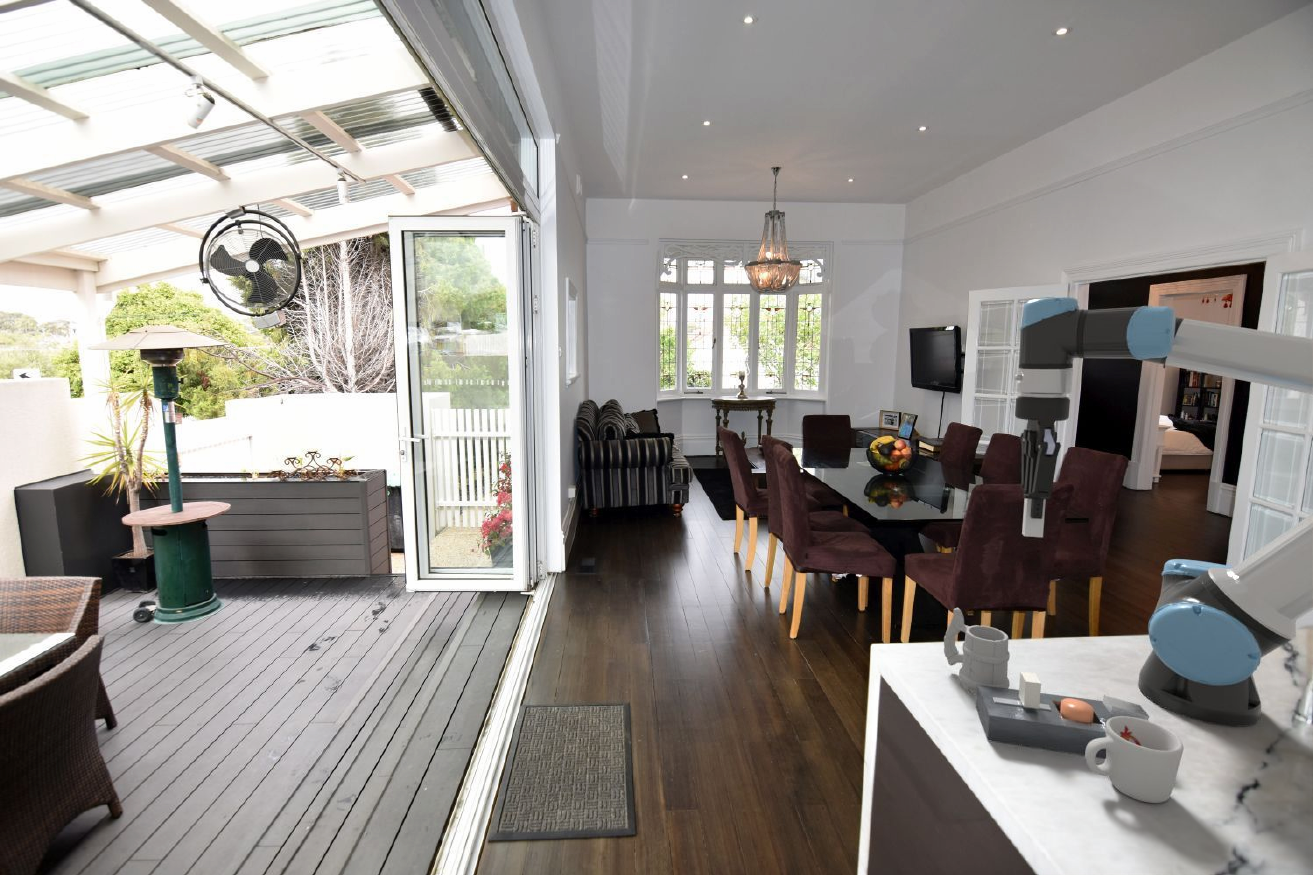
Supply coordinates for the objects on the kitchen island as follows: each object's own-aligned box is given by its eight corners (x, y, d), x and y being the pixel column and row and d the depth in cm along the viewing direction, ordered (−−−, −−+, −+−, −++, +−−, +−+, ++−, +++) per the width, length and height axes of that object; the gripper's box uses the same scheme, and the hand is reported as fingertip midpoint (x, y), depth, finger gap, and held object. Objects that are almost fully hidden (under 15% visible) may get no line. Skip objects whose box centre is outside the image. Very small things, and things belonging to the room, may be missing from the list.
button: (1085, 730, 94) (1087, 700, 93) (1095, 746, 90) (1098, 715, 89) (1055, 725, 95) (1057, 696, 94) (1063, 741, 91) (1066, 710, 90)
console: (1128, 729, 94) (1131, 700, 93) (1156, 766, 86) (1160, 735, 85) (975, 707, 100) (977, 680, 100) (987, 740, 92) (989, 710, 91)
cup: (1104, 810, 78) (1109, 751, 77) (1065, 768, 85) (1070, 714, 84) (1194, 812, 77) (1200, 753, 76) (1146, 770, 85) (1152, 715, 84)
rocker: (1137, 711, 91) (1139, 705, 91) (1147, 723, 88) (1149, 716, 88) (1102, 701, 92) (1104, 695, 92) (1110, 713, 89) (1112, 706, 89)
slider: (1033, 697, 95) (1035, 673, 94) (1039, 708, 92) (1041, 683, 91) (1018, 696, 95) (1020, 671, 95) (1023, 706, 92) (1025, 681, 92)
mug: (989, 704, 101) (994, 634, 99) (928, 671, 112) (932, 608, 110) (1019, 693, 104) (1024, 625, 103) (957, 662, 115) (961, 600, 113)
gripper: (1007, 392, 108) (998, 523, 111) (1027, 397, 96) (1017, 545, 99) (1056, 393, 106) (1045, 527, 109) (1084, 398, 94) (1071, 549, 97)
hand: (1032, 535), depth 104 cm, fingers closed
